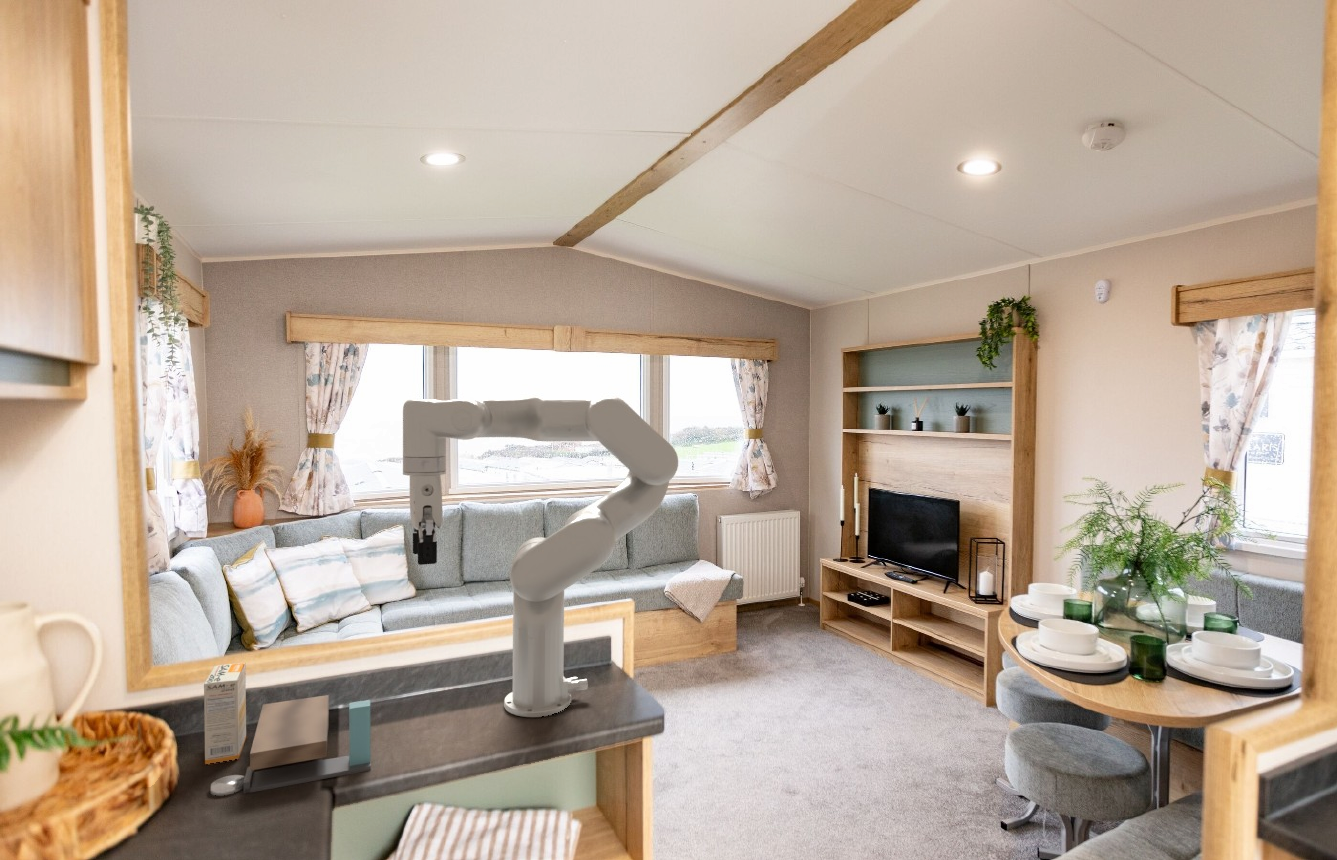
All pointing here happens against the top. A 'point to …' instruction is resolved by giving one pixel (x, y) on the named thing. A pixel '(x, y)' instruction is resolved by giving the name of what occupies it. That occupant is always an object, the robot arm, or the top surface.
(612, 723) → the top surface
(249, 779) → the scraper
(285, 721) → the low block
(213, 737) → the supplement box
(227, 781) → the steel token
